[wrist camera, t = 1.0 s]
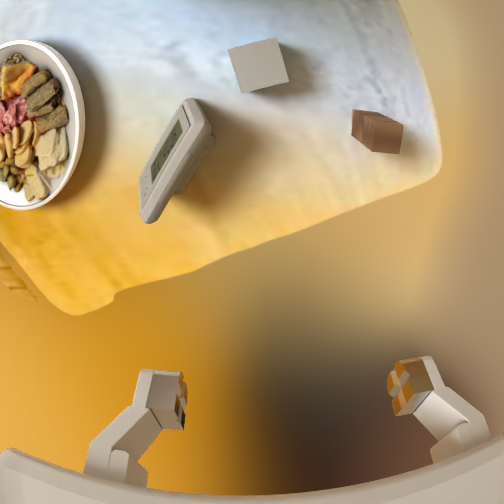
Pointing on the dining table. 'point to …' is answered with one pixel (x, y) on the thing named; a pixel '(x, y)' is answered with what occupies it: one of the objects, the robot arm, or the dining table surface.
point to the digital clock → (174, 159)
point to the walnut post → (376, 131)
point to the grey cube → (258, 65)
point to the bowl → (37, 123)
